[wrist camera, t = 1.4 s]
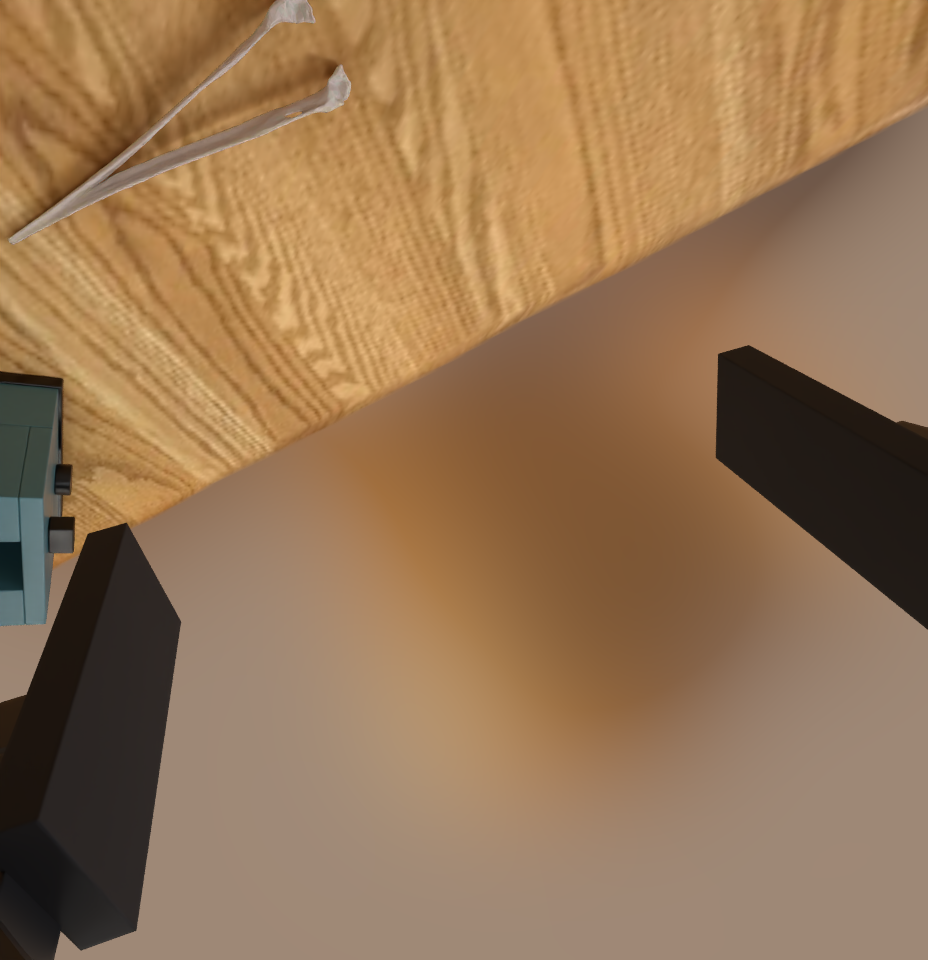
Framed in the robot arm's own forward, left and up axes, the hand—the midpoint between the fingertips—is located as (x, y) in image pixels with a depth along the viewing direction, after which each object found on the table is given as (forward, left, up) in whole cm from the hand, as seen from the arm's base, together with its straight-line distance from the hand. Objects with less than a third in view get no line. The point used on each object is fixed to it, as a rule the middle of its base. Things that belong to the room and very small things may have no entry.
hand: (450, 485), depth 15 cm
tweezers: (-2, -6, -25) cm, 26 cm away
